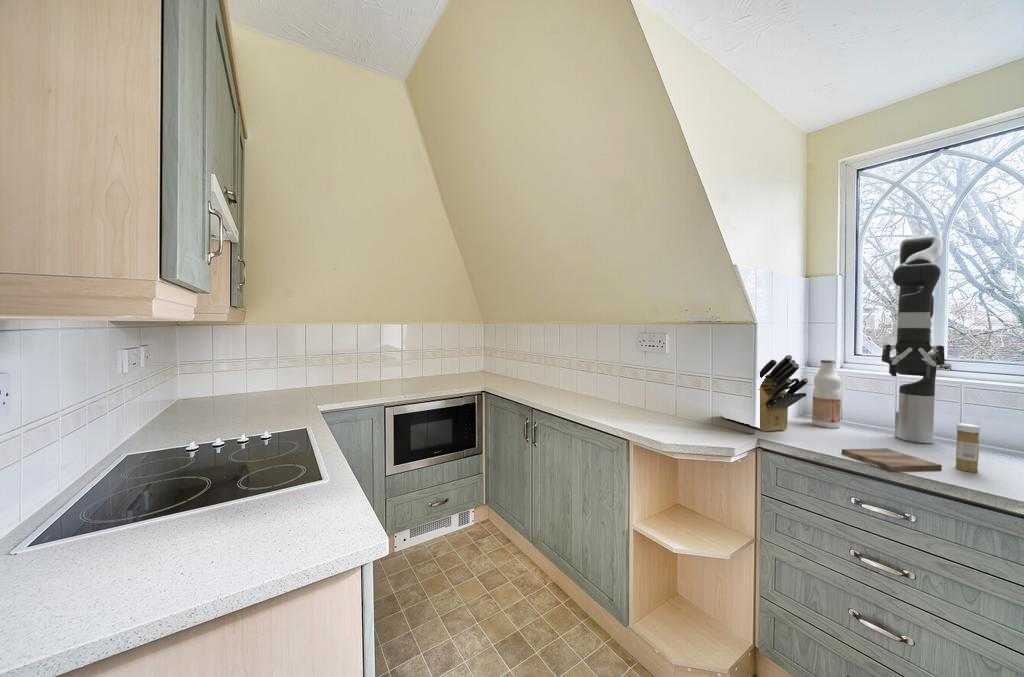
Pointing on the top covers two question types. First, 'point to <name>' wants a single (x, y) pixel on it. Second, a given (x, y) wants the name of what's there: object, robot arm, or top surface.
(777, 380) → the knife block
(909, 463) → the walnut board
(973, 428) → the sprinkles bottle
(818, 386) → the fruit juice
